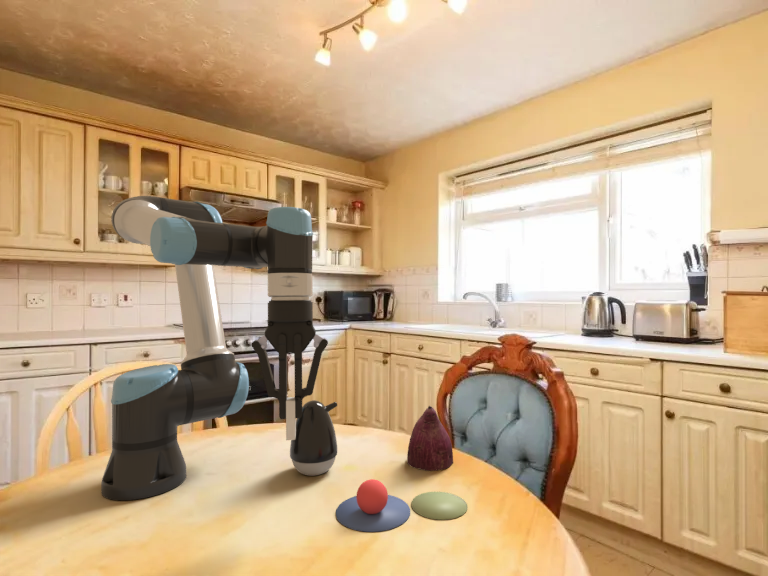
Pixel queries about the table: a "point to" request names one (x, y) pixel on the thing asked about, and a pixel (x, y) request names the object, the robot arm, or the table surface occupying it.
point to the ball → (372, 496)
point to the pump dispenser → (314, 439)
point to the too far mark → (439, 505)
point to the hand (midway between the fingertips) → (291, 437)
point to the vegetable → (429, 444)
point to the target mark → (373, 515)
